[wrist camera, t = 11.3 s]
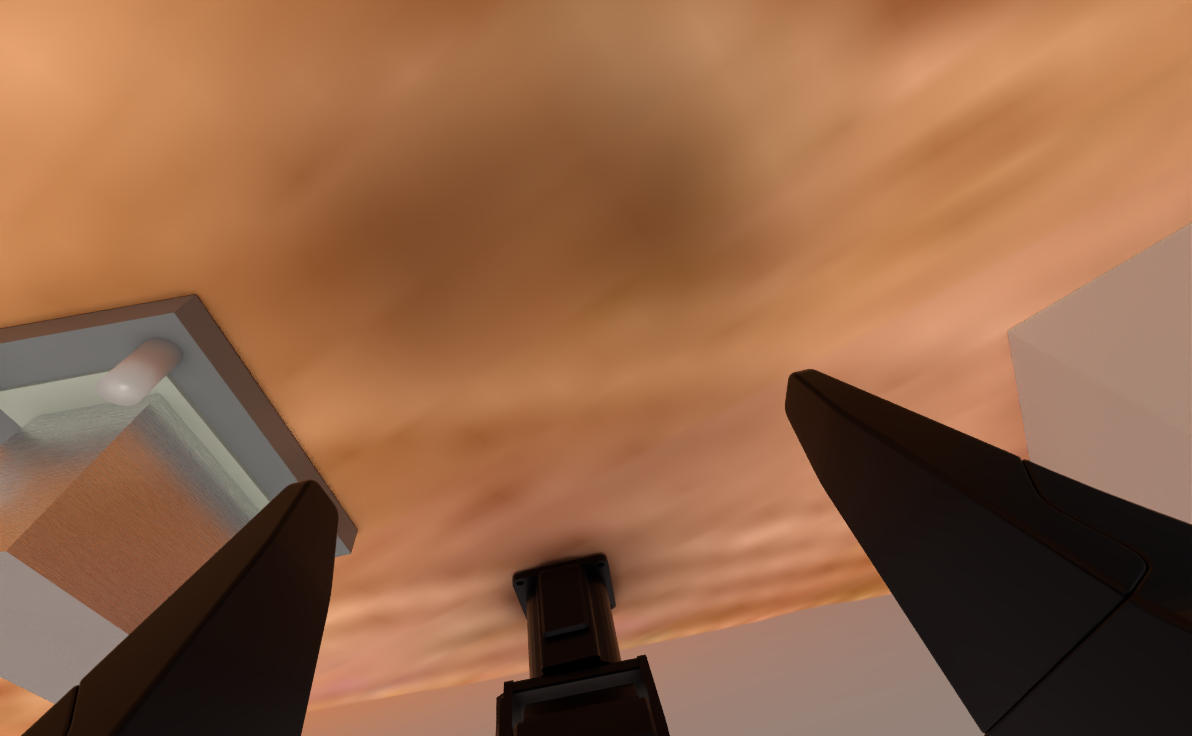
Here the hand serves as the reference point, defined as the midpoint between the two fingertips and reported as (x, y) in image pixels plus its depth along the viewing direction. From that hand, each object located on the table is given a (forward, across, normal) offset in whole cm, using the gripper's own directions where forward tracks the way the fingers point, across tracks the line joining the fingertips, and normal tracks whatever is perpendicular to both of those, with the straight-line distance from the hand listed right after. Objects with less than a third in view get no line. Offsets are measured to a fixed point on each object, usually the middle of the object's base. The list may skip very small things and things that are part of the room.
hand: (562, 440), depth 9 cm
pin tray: (+12, +18, +7) cm, 23 cm away
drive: (+10, +18, +7) cm, 22 cm away
